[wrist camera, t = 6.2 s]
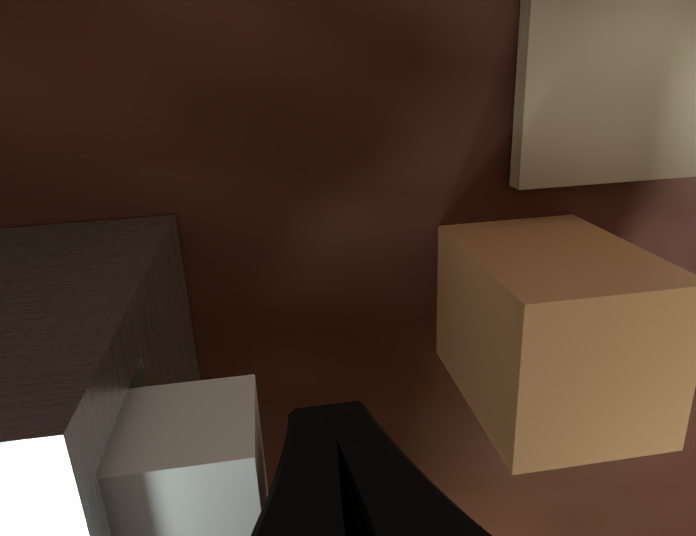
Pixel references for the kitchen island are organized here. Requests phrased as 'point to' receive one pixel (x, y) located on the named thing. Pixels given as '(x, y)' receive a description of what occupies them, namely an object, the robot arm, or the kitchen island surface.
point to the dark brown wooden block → (81, 358)
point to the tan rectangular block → (566, 340)
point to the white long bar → (186, 460)
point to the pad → (604, 92)
